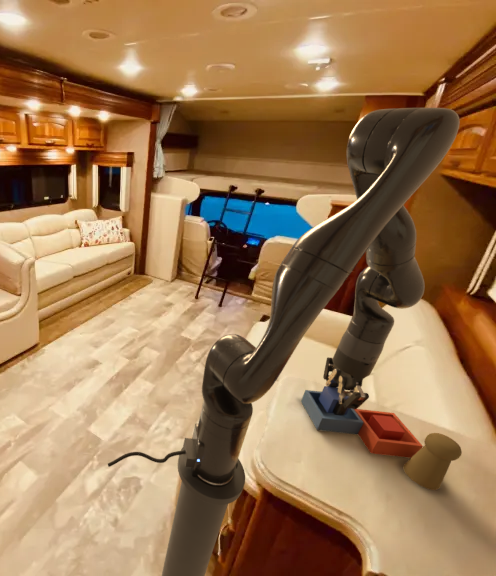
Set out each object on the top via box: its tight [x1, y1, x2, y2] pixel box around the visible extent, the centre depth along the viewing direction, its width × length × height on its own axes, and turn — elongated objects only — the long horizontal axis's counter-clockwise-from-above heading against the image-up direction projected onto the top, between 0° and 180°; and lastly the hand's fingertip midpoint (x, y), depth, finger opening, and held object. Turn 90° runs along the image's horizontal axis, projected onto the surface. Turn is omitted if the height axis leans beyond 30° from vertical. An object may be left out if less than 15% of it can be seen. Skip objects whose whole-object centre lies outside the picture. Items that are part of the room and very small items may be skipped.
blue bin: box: [300, 389, 364, 436], centre depth 81 cm, size 9×9×4 cm
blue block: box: [319, 385, 349, 415], centre depth 79 cm, size 4×4×4 cm
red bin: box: [354, 408, 424, 459], centre depth 75 cm, size 9×9×4 cm
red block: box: [368, 415, 405, 441], centre depth 75 cm, size 4×4×4 cm
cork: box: [402, 432, 463, 491], centre depth 66 cm, size 6×6×11 cm
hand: (332, 405), depth 80 cm, fingers closed on blue block, 4 cm apart
